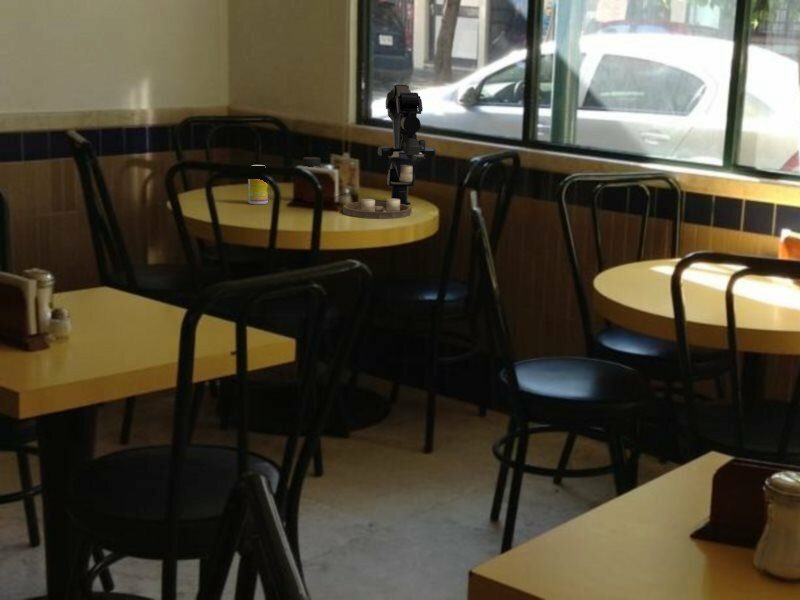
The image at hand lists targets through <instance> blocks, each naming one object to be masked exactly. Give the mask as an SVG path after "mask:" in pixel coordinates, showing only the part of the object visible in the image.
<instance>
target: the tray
mask: <svg viewBox="0 0 800 600" xmlns="http://www.w3.org/2000/svg"><path fill="white" fill-rule="evenodd" d="M386 205H387V201H375V212H370V211H361V201H356V202H355V201H354V202H349V203H344V205H343V206H342V213H343V214H344V215H347V216H350V217H354V218H362V219H375V220H378V219H379V220H390V219H391V220H392V219H401V218H406V217H407V218H408V217H409V216H411V215H412V208H413V207H411V206H410V205H409V204H400V211H395V212H386Z"/></svg>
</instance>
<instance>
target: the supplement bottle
mask: <svg viewBox="0 0 800 600" xmlns="http://www.w3.org/2000/svg"><path fill="white" fill-rule="evenodd" d="M251 166H265V165H263V164H253V165H251ZM247 181H248V183H247V187H248V189H247V195H248V196H247V198H248V199H247V200H248V201H247V202H248V204H251V205H256V206H257V205H260V206H261V205H266V204H268V202H269V190H268V189H269V183H268V184H267V183H266V182H264V181H263V180H260V179H247Z"/></svg>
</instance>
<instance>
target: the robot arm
mask: <svg viewBox="0 0 800 600" xmlns="http://www.w3.org/2000/svg"><path fill="white" fill-rule="evenodd" d="M411 91H412V90H410V88H409V85H408V84H394V85H393V87H392V89H391V90H390V91H389V92H387V93H386V98H385V109H386V110H387V116H388V118H389V119H390V120H391V121H392V135H393V136H392V137H393V141H392V142H393V147H391V146H390V145H387V146H385V145H384V146H382V145H381V146H380V145H379V146H378V148H377V155H378V156H380V157H387V158H389V159H391V163H390V167H389V168H388V171H387V172H388V173H387V178H386V180H387V181H386V182H387V184H386V185H387V186H388V187H391V197H390V199H400V204H404V205H411V202H410V201H409V200H408V198H409V187H414V186H415V180H416V179H415V178H416V172H417V169H418V167H419V164H420V163H421V161H422V160H426V157H436V156H437V155H436V148H435V147H433V146H430V145H429V146H427V145H426V140H425V139H419V140H418V139H417V135H418V134H417V132H418V131H419V130H420V129H421V125H422V123H421V121H420V118H418V117H417V115H422V112H423V108H424V107H423V100H422V98H421V96H420V95H419V92H417V91H416V92H413V91H412V92H411ZM410 155H411V157H412V158H408V156H410ZM400 165H411V166H413V177H412V181H411V182H402V181H399V177H400Z"/></svg>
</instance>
